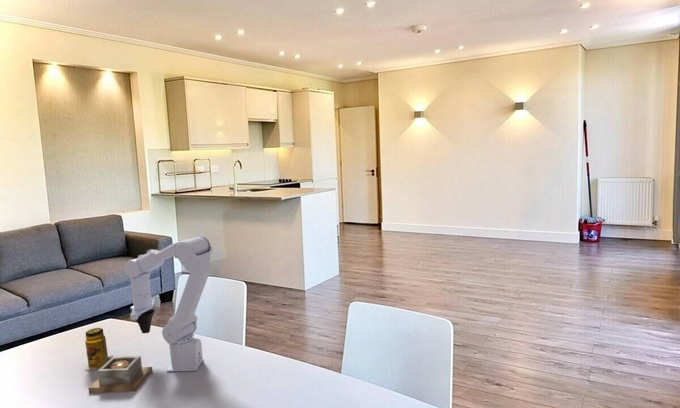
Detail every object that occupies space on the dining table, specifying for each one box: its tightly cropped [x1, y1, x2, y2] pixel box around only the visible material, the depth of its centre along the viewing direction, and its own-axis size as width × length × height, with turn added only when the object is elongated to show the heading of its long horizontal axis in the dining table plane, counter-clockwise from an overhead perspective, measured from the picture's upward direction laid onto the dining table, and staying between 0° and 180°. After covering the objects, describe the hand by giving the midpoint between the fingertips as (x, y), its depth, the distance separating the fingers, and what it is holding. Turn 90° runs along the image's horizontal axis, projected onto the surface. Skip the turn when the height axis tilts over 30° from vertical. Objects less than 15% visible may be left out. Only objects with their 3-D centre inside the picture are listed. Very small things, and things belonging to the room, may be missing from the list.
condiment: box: [84, 327, 114, 371], centre depth 159 cm, size 7×8×12 cm
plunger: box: [111, 360, 129, 369], centre depth 146 cm, size 6×6×4 cm
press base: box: [87, 355, 153, 394], centre depth 146 cm, size 14×12×6 cm
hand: (146, 332), depth 160 cm, fingers closed
